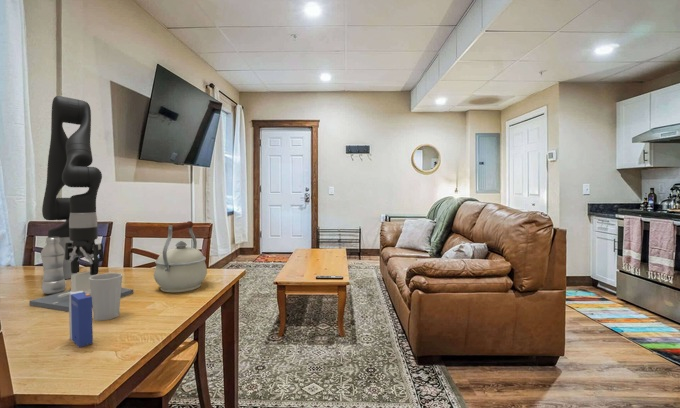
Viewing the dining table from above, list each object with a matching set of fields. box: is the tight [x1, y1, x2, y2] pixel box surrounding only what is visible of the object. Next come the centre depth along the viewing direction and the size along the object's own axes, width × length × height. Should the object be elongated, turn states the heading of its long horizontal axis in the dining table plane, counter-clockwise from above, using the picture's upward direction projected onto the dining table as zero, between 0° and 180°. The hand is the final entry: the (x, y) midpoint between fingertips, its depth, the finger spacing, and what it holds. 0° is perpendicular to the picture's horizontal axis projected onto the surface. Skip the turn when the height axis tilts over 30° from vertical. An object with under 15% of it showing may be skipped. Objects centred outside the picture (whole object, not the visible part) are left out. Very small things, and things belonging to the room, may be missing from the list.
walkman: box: [68, 291, 94, 348], centre depth 83 cm, size 8×3×12 cm, turn 52°
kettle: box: [153, 220, 208, 294], centre depth 130 cm, size 25×18×25 cm
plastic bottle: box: [40, 236, 67, 295], centre depth 119 cm, size 6×7×20 cm
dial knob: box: [58, 270, 98, 297], centre depth 111 cm, size 12×8×8 cm, turn 164°
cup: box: [89, 272, 123, 321], centre depth 99 cm, size 8×8×12 cm
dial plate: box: [29, 287, 135, 313], centre depth 114 cm, size 20×20×2 cm
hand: (84, 273), depth 113 cm, fingers open, 8 cm apart
